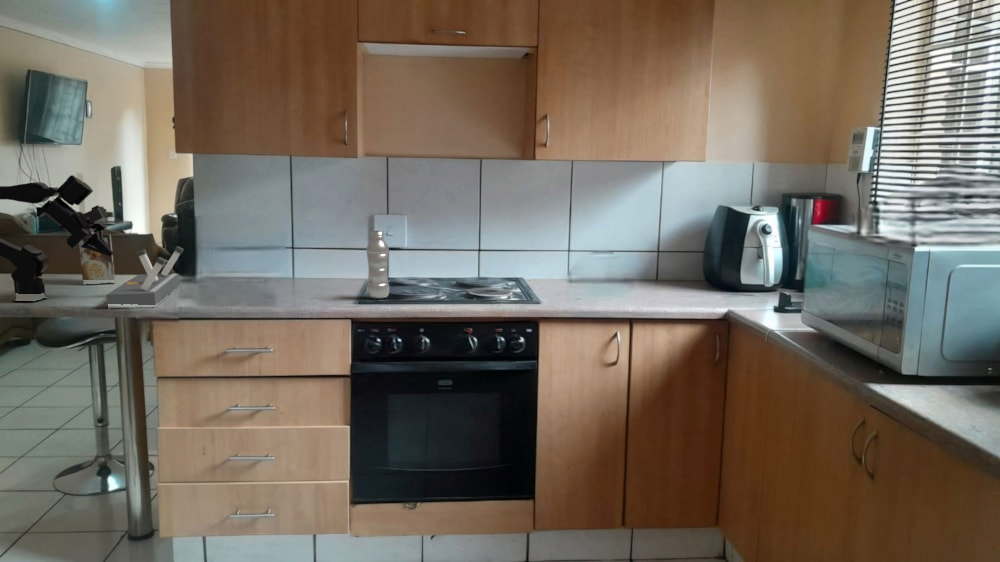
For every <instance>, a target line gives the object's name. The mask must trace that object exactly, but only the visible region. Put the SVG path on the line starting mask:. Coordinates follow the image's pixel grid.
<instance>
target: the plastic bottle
mask: <svg viewBox="0 0 1000 562" xmlns="http://www.w3.org/2000/svg"><path fill="white" fill-rule="evenodd" d="M370 238H371V239H370V241H369V243H368V244H367V246H366V249H365V250H366V257H367V267H368V276H367V277H368V278H367V283H366V295H367V297H368V298H371V299H375V300H380V299H384V298H387V297H389V295H390V285H389V281H388V261H389V256H390V255H389V252H390V247H389V245H388V243H387V242H386V241H385V239H384V238H385V235H384V230H371V231H370Z"/></svg>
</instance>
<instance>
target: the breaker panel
mask: <svg viewBox="0 0 1000 562" xmlns="http://www.w3.org/2000/svg"><path fill="white" fill-rule="evenodd" d="M147 277H148V275H147V274H137V275H135V276H134V277H132V278H131V279H129V280H128V281H126V282H124V283H122V284H121V285H119V286H118V287H116V288H115V289H113V290H111V291H110V292H108V293H107V294H106V295H105V297H106V305H107V304H121V305H123V304H131V305H132V304H138V305H156V304H157V303H159V302H160V301H161V300H163V299H164V298H165V297H166V296H167V295H169V294H170V293H171V292H172V291H173V290H174V289H176V288H177V287H178V286H179V285H180V286H181V282H180V281H181V280H180V273H168V275H167V276H164V275H163V274H161V273H158V274H157V277H158V280H157V281H155V282H152V284H151V286H150V287H149V289H148V290H147V291H146V290H144V289H142V288H141V287H142V285H143V283H144V282H145V280H146V278H147ZM178 288H179V287H178ZM178 288H177V289H178ZM177 289H176V290H177ZM170 295H171V294H170ZM170 295H169V296H170Z"/></svg>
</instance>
